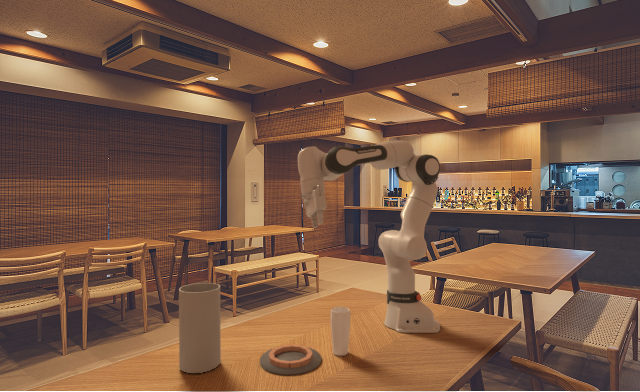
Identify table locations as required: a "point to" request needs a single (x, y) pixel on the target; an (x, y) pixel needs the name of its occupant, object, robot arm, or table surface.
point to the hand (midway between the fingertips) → (318, 225)
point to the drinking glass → (340, 330)
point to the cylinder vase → (199, 327)
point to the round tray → (290, 360)
